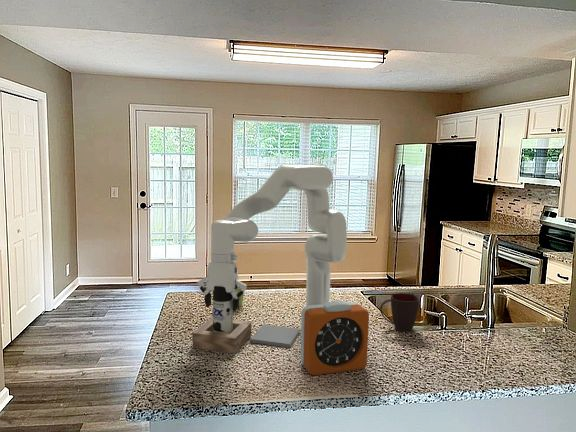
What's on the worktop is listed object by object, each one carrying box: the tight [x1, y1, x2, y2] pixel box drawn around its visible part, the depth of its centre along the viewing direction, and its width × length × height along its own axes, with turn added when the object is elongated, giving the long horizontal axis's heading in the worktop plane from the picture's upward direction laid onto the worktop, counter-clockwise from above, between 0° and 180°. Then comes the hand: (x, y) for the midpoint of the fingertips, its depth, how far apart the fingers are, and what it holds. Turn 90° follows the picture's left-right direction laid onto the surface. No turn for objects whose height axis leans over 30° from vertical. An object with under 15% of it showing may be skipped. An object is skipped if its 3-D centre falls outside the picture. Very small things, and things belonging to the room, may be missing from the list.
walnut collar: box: [191, 316, 252, 354], centre depth 153 cm, size 15×15×5 cm
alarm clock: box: [300, 300, 370, 376], centre depth 135 cm, size 18×9×21 cm, turn 106°
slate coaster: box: [249, 323, 301, 348], centre depth 158 cm, size 14×14×1 cm
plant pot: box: [233, 282, 247, 307], centre depth 190 cm, size 9×9×9 cm
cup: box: [379, 292, 420, 333], centre depth 166 cm, size 10×14×12 cm
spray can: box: [212, 286, 234, 334], centre depth 152 cm, size 7×7×20 cm
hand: (221, 307), depth 151 cm, fingers open, 9 cm apart
